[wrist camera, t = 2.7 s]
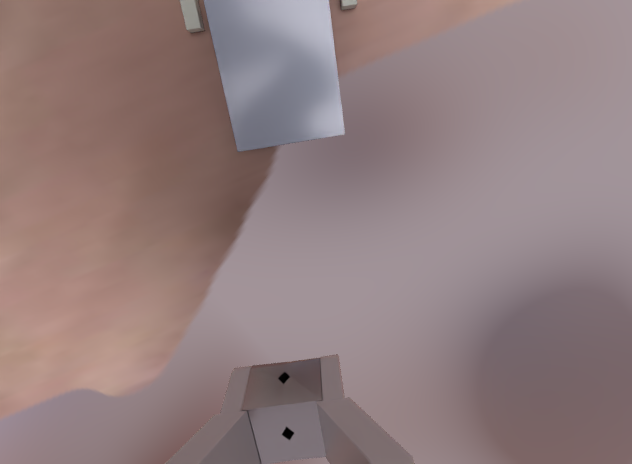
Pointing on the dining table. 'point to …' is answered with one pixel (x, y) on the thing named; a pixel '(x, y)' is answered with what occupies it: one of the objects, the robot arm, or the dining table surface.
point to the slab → (277, 70)
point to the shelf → (195, 19)
